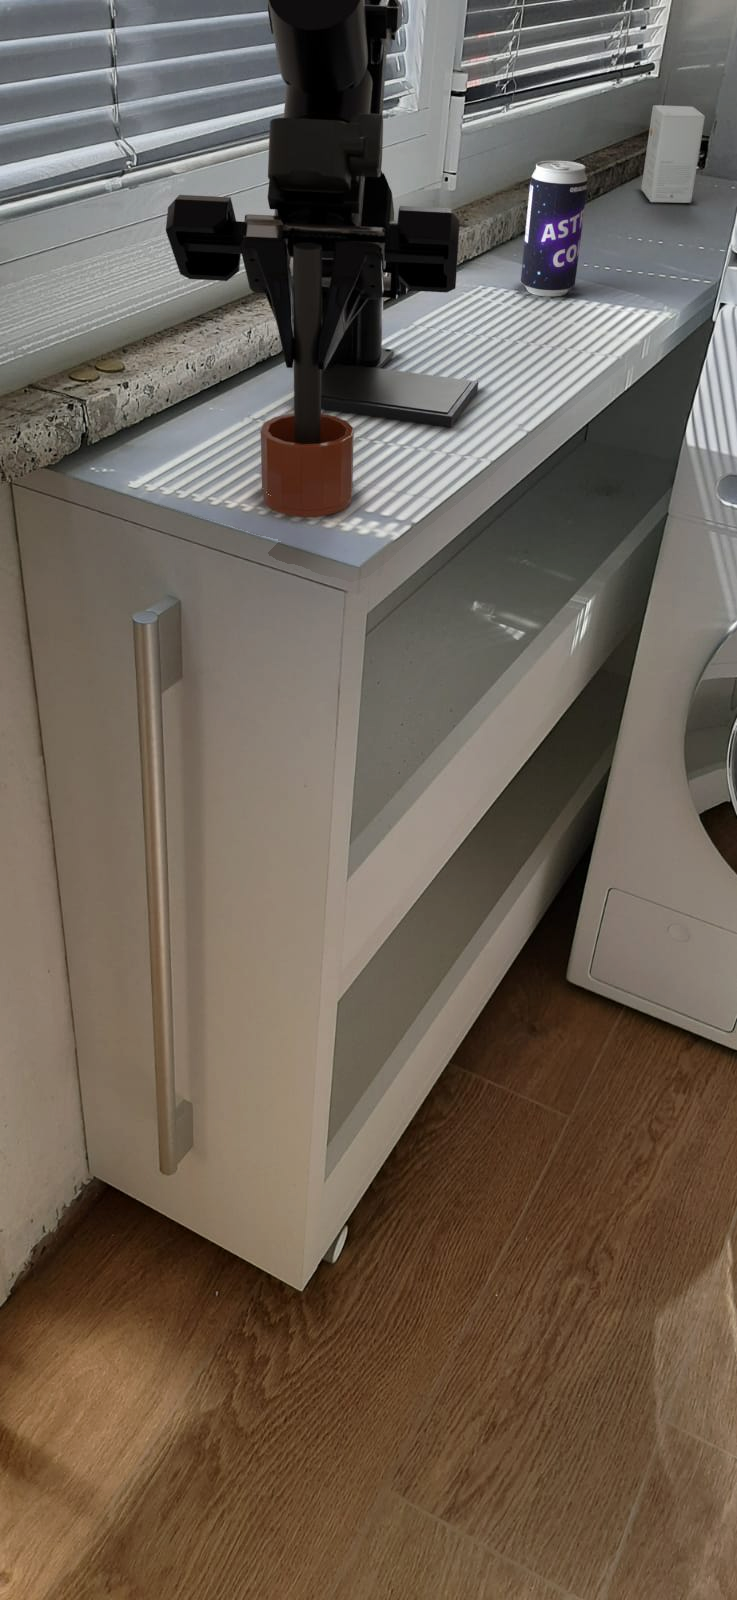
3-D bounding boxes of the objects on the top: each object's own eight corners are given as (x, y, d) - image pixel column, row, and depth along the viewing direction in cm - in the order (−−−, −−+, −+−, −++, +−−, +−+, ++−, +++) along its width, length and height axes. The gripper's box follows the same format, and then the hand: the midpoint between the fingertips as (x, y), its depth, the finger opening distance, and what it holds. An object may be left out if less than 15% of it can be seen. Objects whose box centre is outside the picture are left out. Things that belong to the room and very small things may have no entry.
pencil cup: (280, 475, 91) (279, 407, 88) (363, 488, 90) (365, 420, 87) (248, 509, 87) (246, 438, 84) (336, 523, 85) (336, 451, 82)
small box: (691, 204, 168) (706, 115, 161) (649, 203, 168) (662, 114, 161) (680, 191, 174) (694, 105, 168) (640, 190, 174) (652, 104, 168)
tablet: (332, 372, 110) (333, 360, 109) (477, 391, 107) (478, 380, 106) (297, 405, 103) (297, 393, 102) (451, 427, 100) (451, 415, 99)
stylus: (299, 455, 88) (298, 241, 79) (324, 459, 87) (325, 244, 79) (290, 464, 86) (288, 247, 78) (315, 468, 86) (316, 250, 77)
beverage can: (531, 300, 129) (544, 171, 122) (512, 284, 134) (523, 160, 126) (582, 297, 131) (598, 170, 123) (561, 282, 135) (575, 159, 128)
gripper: (161, 49, 76) (134, 291, 74) (470, 63, 75) (452, 308, 73) (193, 167, 87) (171, 380, 85) (463, 180, 86) (447, 395, 84)
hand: (304, 365), depth 81 cm, fingers closed on stylus, 2 cm apart
